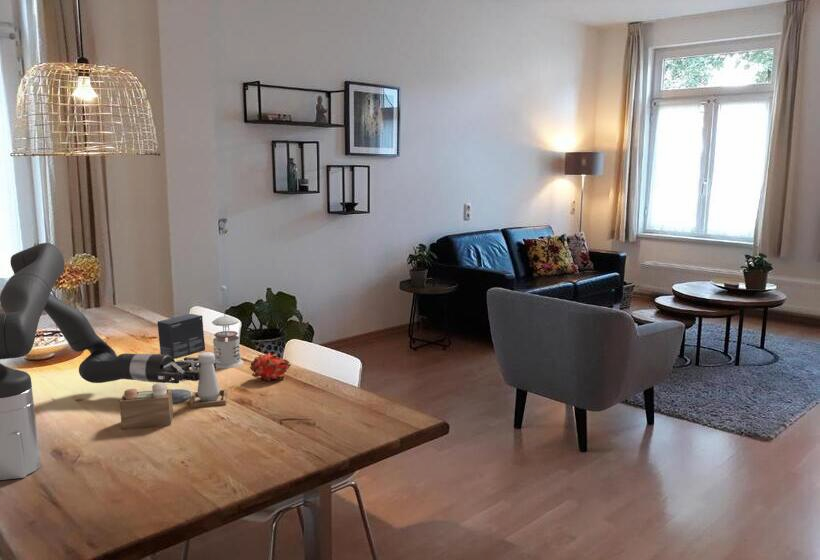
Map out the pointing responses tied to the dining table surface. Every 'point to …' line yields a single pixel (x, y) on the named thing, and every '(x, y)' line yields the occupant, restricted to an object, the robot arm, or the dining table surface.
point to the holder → (211, 403)
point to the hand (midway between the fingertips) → (207, 371)
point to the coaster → (180, 395)
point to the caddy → (146, 407)
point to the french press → (226, 349)
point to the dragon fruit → (269, 366)
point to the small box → (181, 335)
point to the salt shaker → (207, 378)
